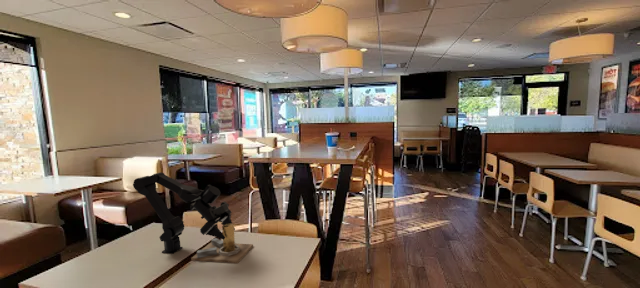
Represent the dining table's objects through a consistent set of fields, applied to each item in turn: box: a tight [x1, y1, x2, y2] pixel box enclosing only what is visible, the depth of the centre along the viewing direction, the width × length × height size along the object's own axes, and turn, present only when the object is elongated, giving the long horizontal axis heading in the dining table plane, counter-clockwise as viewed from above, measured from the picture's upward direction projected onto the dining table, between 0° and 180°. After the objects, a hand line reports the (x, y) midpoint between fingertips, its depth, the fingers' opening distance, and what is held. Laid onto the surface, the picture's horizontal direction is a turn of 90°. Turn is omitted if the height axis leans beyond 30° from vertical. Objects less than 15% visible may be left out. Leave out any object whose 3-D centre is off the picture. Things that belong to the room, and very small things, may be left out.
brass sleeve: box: [221, 223, 236, 252], centre depth 128 cm, size 5×5×12 cm
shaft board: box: [190, 237, 254, 264], centre depth 128 cm, size 22×16×3 cm
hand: (229, 234), depth 127 cm, fingers open, 9 cm apart
